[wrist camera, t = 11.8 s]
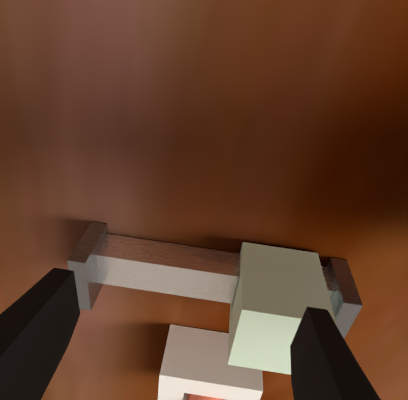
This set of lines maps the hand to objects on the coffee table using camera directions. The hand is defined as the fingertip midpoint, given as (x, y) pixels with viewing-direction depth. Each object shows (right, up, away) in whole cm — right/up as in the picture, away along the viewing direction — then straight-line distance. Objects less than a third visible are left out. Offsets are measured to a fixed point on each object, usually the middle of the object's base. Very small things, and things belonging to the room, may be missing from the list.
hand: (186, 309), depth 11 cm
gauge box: (+1, -9, +18) cm, 20 cm away
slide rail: (+1, -1, +12) cm, 12 cm away
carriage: (+5, -1, +12) cm, 13 cm away
